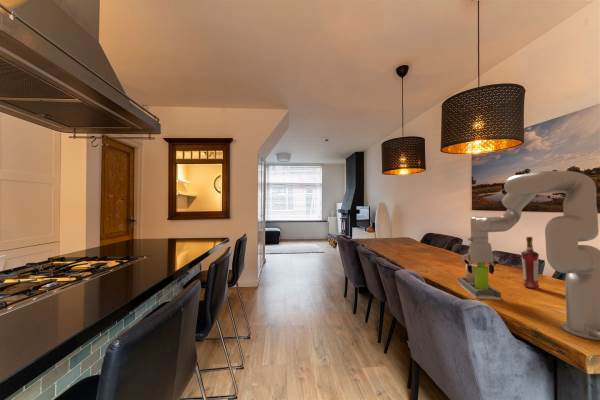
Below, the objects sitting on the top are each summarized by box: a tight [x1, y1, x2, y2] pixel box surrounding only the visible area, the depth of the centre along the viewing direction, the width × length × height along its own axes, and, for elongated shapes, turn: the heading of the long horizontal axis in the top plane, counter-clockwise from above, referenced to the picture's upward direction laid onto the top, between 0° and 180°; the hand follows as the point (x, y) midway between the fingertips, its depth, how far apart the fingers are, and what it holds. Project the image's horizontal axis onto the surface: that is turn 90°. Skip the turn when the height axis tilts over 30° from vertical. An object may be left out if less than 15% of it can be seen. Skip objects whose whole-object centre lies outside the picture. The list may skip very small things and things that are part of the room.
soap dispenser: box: [474, 263, 490, 290], centre depth 137 cm, size 6×7×20 cm
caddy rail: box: [457, 263, 502, 301], centre depth 143 cm, size 26×11×12 cm, turn 166°
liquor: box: [520, 236, 540, 290], centre depth 146 cm, size 7×7×28 cm
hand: (480, 272), depth 138 cm, fingers open, 9 cm apart
